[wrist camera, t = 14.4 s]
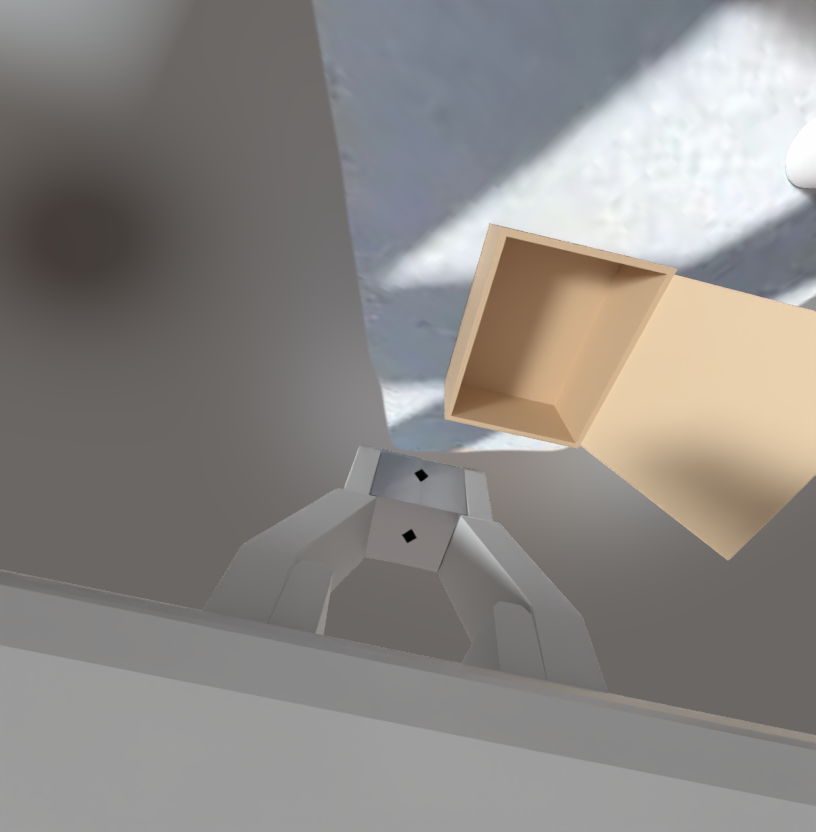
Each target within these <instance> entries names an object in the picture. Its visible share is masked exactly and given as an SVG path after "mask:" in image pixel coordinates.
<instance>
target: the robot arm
mask: <svg viewBox="0 0 816 832" xmlns="http://www.w3.org/2000/svg"><path fill="white" fill-rule="evenodd" d="M364 557H367V558H372V559H378V560H383V561H389V562H395V563H400V564H404V565H408V566H412V567H417V568H421V569H425V570H430V571H434V572H438V576H439V578H440V580H441V582H442V584H443V586H444V588H445V590H446V592H447V594H448V596H449V598H450V600H451V602H452V604H453V606H454V608H455V610H456V612H457V614H458V616H459V618H460V620H461V622H462V624H463V626H464V628H465V630H466V632H467V634H468V636H469V638H470V640H471V642H472V645H471V647H470V649H469V650H468V652H467V654H466V655H465V657H464V659H463V661H462V663H456V662H452V661H447V660H441V659H437V658H432V657H427V656H422V655H417V654H413V653H408V652H403V651H398V650H393V649H388V648H383V647H378V646H373V645H368V644H363V643H359V642H353V641H349V640H343V639H339V638H334V637H329V636H324V635H323V634H324V628H325V622H326V615H327V609H328V603H329V595H330V592H331V591H332V590H333V589H334V588H335V587H336V586H337V585H338V584H339V583H340V582H341V581H342V580H343V579H344V578H345V577H346V576H347V575H348V574H349V573H350V572H351V571H352V570H353V569H354V568H355V567H356V566H357V565H358V564H359V563H360V562H361V561H362V560H363V558H364ZM0 832H816V735H811V734H806V733H801V732H796V731H791V730H786V729H781V728H776V727H771V726H767V725H762V724H757V723H752V722H747V721H742V720H737V719H733V718H728V717H723V716H718V715H713V714H708V713H703V712H698V711H693V710H688V709H684V708H679V707H674V706H669V705H664V704H659V703H654V702H649V701H644V700H639V699H634V698H629V697H625V696H620V695H614V694H610V693H608V690H607V687H606V684H605V682H604V679H603V676H602V673H601V670H600V667H599V664H598V661H597V658H596V655H595V652H594V649H593V646H592V643H591V640H590V637H589V634H588V632H587V629H586V626H585V623H584V620H583V617H582V616H581V615H580V613H579V612H578V611H577V610H576V609H575V608H574V607H573V605H572V604H571V603H570V602H569V601H568V600H567V599H566V598H565V596H564V595H563V594H562V593H561V592H560V591H559V590H558V589H557V587H556V586H555V585H554V584H553V583H552V582H551V581H550V580H549V578H548V577H547V576H546V575H545V574H544V573H543V572H542V570H541V569H540V568H539V567H538V566H537V565H536V564H535V563H534V561H533V560H532V559H531V558H530V557H529V556H528V555H527V554H526V553H525V551H524V550H523V549H522V548H521V547H520V546H519V545H518V543H517V542H516V541H515V540H514V539H513V538H512V537H511V535H510V534H509V533H508V532H507V531H506V530H505V529H504V528H503V526H502V525H501V524H500V523H497V522H493V518H492V511H491V505H490V500H489V494H488V487H487V481H486V476H485V473H484V472H483V471H480V470H475V469H470V468H465V467H462V468H460V467H456V466H452V465H447V464H442V463H437V462H433V461H428V460H423V459H421V458H417V457H412V456H408V455H404V454H400V453H396V452H392V451H388V450H383V449H382V451H381V449H379V448H374V447H370V446H365V445H360V446H359V448H358V451H357V454H356V456H355V459H354V462H353V465H352V468H351V470H350V473H349V476H348V478H347V481H346V484H345V487H344V489H339V488H337V489H335V490H333V491H331V492H330V493H328V494H326V495H325V496H323V497H322V498H320V499H318V500H317V501H315V502H313V503H311V504H310V505H308V506H306V507H305V508H303V509H301V510H300V511H298V512H296V513H295V514H293V515H291V516H290V517H288V518H286V519H284V520H283V521H281V522H279V523H278V524H276V525H274V526H273V527H271V528H269V529H268V530H266V531H264V532H263V533H261V534H259V535H258V536H256V537H254V538H252V539H251V540H249V541H247V542H246V543H245V544H242V546H241V547H240V549H239V551H238V552H237V554H236V556H235V557H234V559H233V560H232V562H231V564H230V565H229V567H228V569H227V570H226V572H225V574H224V575H223V577H222V578H221V580H220V582H219V584H218V585H217V587H216V588H215V590H214V592H213V593H212V595H211V597H210V598H209V600H208V602H207V603H206V605H205V606H204V608H203V610H196V609H192V608H187V607H182V606H177V605H172V604H167V603H162V602H157V601H152V600H147V599H143V598H138V597H133V596H128V595H123V594H118V593H113V592H108V591H103V590H98V589H94V588H88V587H84V586H79V585H74V584H69V583H64V582H59V581H54V580H50V579H45V578H39V577H35V576H30V575H25V574H20V573H15V572H10V571H5V570H0Z"/></svg>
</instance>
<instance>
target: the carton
mask: <svg viewBox="0 0 816 832" xmlns="http://www.w3.org/2000/svg"><path fill="white" fill-rule="evenodd" d="M676 271H677V269H676V268H672V267H668V266H665V265H661V264H657V263H653V262H649V261H645V260H641V259H637V258H633V257H629V256H625V255H620V254H616V253H612V252H608V251H604V250H599V249H595V248H591V247H587V246H582V245H578V244H574V243H570V242H566V241H561V240H557V239H553V238H549V237H545V236H540V235H536V234H532V233H528V232H523V231H519V230H515V229H511V228H507V227H502V226H498V225H494V224H489V227H488V231H487V234H486V238H485V241H484V245H483V248H482V252H481V255H480V259H479V262H478V266H477V270H476V273H475V277H474V280H473V284H472V287H471V291H470V294H469V298H468V301H467V305H466V308H465V312H464V316H463V319H462V323H461V326H460V330H459V333H458V337H457V340H456V344H455V347H454V351H453V354H452V358H451V362H450V365H449V369H448V372H447V376H446V379H445V383H444V388H445V419H446V420H451V421H456V422H460V423H465V424H469V425H474V426H478V427H483V428H487V429H492V430H496V431H501V432H505V433H510V434H514V435H519V436H524V437H528V438H533V439H537V440H542V441H546V442H551V443H555V444H560V445H564V446H569V447H574V448H579V447H580V445H581V443H582V441H583V439H584V438H585V436H586V434H587V432H588V430H589V429H590V427H591V425H592V423H593V421H594V419H595V418H596V416H597V414H598V412H599V410H600V409H601V407H602V405H603V403H604V401H605V400H606V398H607V396H608V394H609V392H610V390H611V389H612V387H613V385H614V383H615V381H616V380H617V378H618V376H619V374H620V372H621V371H622V369H623V367H624V365H625V363H626V361H627V360H628V358H629V356H630V354H631V352H632V351H633V349H634V347H635V345H636V343H637V341H638V340H639V338H640V336H641V334H642V332H643V331H644V329H645V327H646V325H647V323H648V322H649V320H650V318H651V316H652V314H653V312H654V311H655V309H656V307H657V305H658V303H659V302H660V300H661V298H662V296H663V294H664V293H665V291H666V289H667V287H668V285H669V283H670V282H671V280H672V278H673V276H674V274H675V273H676Z"/></svg>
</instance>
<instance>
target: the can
mask: <svg viewBox="0 0 816 832" xmlns="http://www.w3.org/2000/svg"><path fill="white" fill-rule="evenodd" d="M786 173H787V176H788V178H789V180H790V181H791V182H792V183H793V184H794V185H796V186H798V187H802V188H816V117H814V118H813V119H812V120H811V121H810V122H809V123H808V124H806V125H805V127H804V128H803V129H802V130H801V131H800V132H799V134H798V135H797V136H796V138H795V139H794V141H793V143H792V145H791V147H790V149H789V151H788V154H787V158H786Z"/></svg>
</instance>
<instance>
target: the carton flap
mask: <svg viewBox="0 0 816 832" xmlns="http://www.w3.org/2000/svg"><path fill="white" fill-rule="evenodd" d="M581 446H582V447H583V448H585V449H586V450H587V451H588V452H590V453H591V454H592V455H593V456H595V457H596V458H597V459H599V460H600V461H601V462H602V463H604V464H605V465H606V466H608V467H609V468H610V469H612V470H613V471H614V472H615V473H617V474H618V475H619V476H620V477H622V478H623V479H624V480H626V481H627V482H628V483H629V484H631V485H632V486H633V487H635V488H636V489H637V490H638V491H640V492H641V493H642V494H643V495H645V496H646V497H647V498H649V499H650V500H651V501H652V502H654V503H655V504H656V505H658V506H659V507H660V508H661V509H663V510H664V511H665V512H666V513H668V514H669V515H670V516H672V517H673V518H674V519H675V520H677V521H678V522H679V523H681V524H682V525H683V526H684V527H686V528H687V529H688V530H690V531H691V532H692V533H693V534H695V535H696V536H697V537H699V538H700V539H701V540H702V541H704V542H705V543H706V544H707V545H709V546H710V547H712V548H713V549H714V550H715V551H716V552H718V553H719V554H720V555H722V556H723V557H724V558H725V559H727V560H730V559H731V558H732V557H733V556H734V555H735V554H736V553H737V552H738V551H739V550H740V549H741V548H742V547H743V546H744V545H745V544H746V543H747V542H748V541H749V540H750V539H751V538H752V537H753V536H754V535H755V534H756V533H757V532H758V531H759V530H760V529H762V528H763V527H764V526H765V525H766V524H767V523H768V522H769V520H771V519H772V518H773V517H774V516H775V515H776V514H777V513H778V512H779V511H780V510H781V509H782V508H783V507H784V506H785V505H786V504H787V503H788V502H789V501H790V500H791V499H792V498H793V497H794V496H795V495H796V494H797V493H798V492H799V491H800V490H801V489H802V488H803V487H804V486H805V485H806V484H807V483H808V482H809V481H810V480H811V479H812V478H813V477H814V476H815V475H816V311H813V310H809V309H805V308H801V307H798V306H794V305H790V304H786V303H782V302H778V301H774V300H770V299H767V298H763V297H759V296H755V295H751V294H747V293H743V292H740V291H736V290H732V289H728V288H724V287H720V286H716V285H712V284H709V283H705V282H701V281H697V280H693V279H689V278H685V277H682V276H678V275H674V276H673V278H672V280H671V282H670V283H669V285H668V287H667V289H666V291H665V293H664V294H663V296H662V298H661V300H660V302H659V303H658V305H657V307H656V309H655V311H654V312H653V314H652V316H651V318H650V320H649V322H648V323H647V325H646V327H645V329H644V331H643V332H642V334H641V336H640V338H639V340H638V341H637V343H636V345H635V347H634V349H633V351H632V352H631V354H630V356H629V358H628V360H627V361H626V363H625V365H624V367H623V369H622V371H621V372H620V374H619V376H618V378H617V380H616V381H615V383H614V385H613V387H612V389H611V390H610V392H609V394H608V396H607V398H606V400H605V401H604V403H603V405H602V407H601V409H600V410H599V412H598V414H597V416H596V418H595V419H594V421H593V423H592V425H591V427H590V429H589V430H588V432H587V434H586V436H585V438H584V439H583V441H582V443H581Z"/></svg>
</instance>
